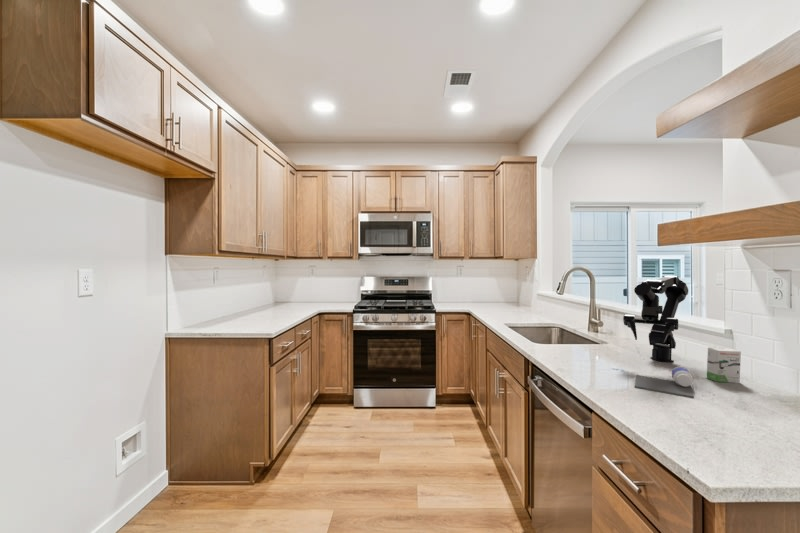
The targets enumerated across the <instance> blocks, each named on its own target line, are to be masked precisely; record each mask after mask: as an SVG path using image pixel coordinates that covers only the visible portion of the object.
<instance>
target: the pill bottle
mask: <svg viewBox="0 0 800 533" xmlns="http://www.w3.org/2000/svg"><path fill="white" fill-rule="evenodd" d="M671 376H672V379H673V381H675V382H676V383H677V384H678V385H680V386H685V387H687V386H690V385H691V386H692V384H693V382H694V379H693V376H692V374H691V373H690V371H689V370H688V369H687V368H685V367H683V366H675V367H673V368H672V370H671Z"/></svg>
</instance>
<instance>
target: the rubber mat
mask: <svg viewBox="0 0 800 533" xmlns="http://www.w3.org/2000/svg"><path fill="white" fill-rule="evenodd" d="M635 377H636V379H635V384H634V388H636V389H642V390H647V391H653V392H659V393H664V394H670V395H675V396H680V397H681V396H682V397H685V398H686V397H687V398H692V399H695V396H694V392H693V389H692V384H691V385H690V386H687V387H685V386H680V385H678V384H677V383H676V382H675V381H674V380H670V379H666V378H665V379H664V378H657V377H653V376H646V375H640V374H637V375H636V376H635Z"/></svg>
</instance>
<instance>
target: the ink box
mask: <svg viewBox="0 0 800 533" xmlns="http://www.w3.org/2000/svg"><path fill="white" fill-rule="evenodd" d="M741 354H742V352H741V351H740V350H738V349H734V348H731V347H716V346H715V347H714V346H713V347H712V346H711V347H710V346H709V347H707V359H706V360H707V361H706V362H707V364H706V366H707V367H706V379H709V380H711V381H713V382H716V383H736V384H737V383H739V384H740V382H741Z"/></svg>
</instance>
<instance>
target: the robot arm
mask: <svg viewBox="0 0 800 533" xmlns="http://www.w3.org/2000/svg"><path fill="white" fill-rule="evenodd" d="M633 291H634V294H635V295H637V298H639V299H640V301H642V309H641V318H639V317H638V318H637V317H636V316H635V315H634V314H624V315H623V316H622V317H623V318H622V320H623V325H624V326H626V327H627V328H630V329H631V332H632V334H633V337H634V339H635V341H637V340H638V334H637V328H636V327H637V326H636V324H645V325H646V324H647V325H652V327H651V329H650V331H649V333H648V342H649V346H652V349H651V356H650V359H653V360H655V361H658V362H664V363H665V362H666V363H670V362H671V363H674V362H675V360H674V359H672V353H673V352H672V350H673V349H674V350H675V349H676V345H677V343H676V340H675V338H674V334H673V332H674V331H675V330H679V319H678V318H677V317H675V316H676V313H677V311H678V307H679V304H680V303H681V302H683V301H684V300H686V297H687V296H688V294H689V288H688V286H687V284H686V282H684V281H682V280H681V279H680V278H679V276H676V275H665V276H663V277H660V278H658V279H646V280H645V281H641V283H640V284H638V285H636V286H635V287H634V290H633ZM657 294H660V295H663V294H664V295H665V297H666V301H665V303H664V307H663V305H660V304H659V303H660V296H659V295H657ZM660 315H661V316H660ZM659 316H660V318H659Z"/></svg>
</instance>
